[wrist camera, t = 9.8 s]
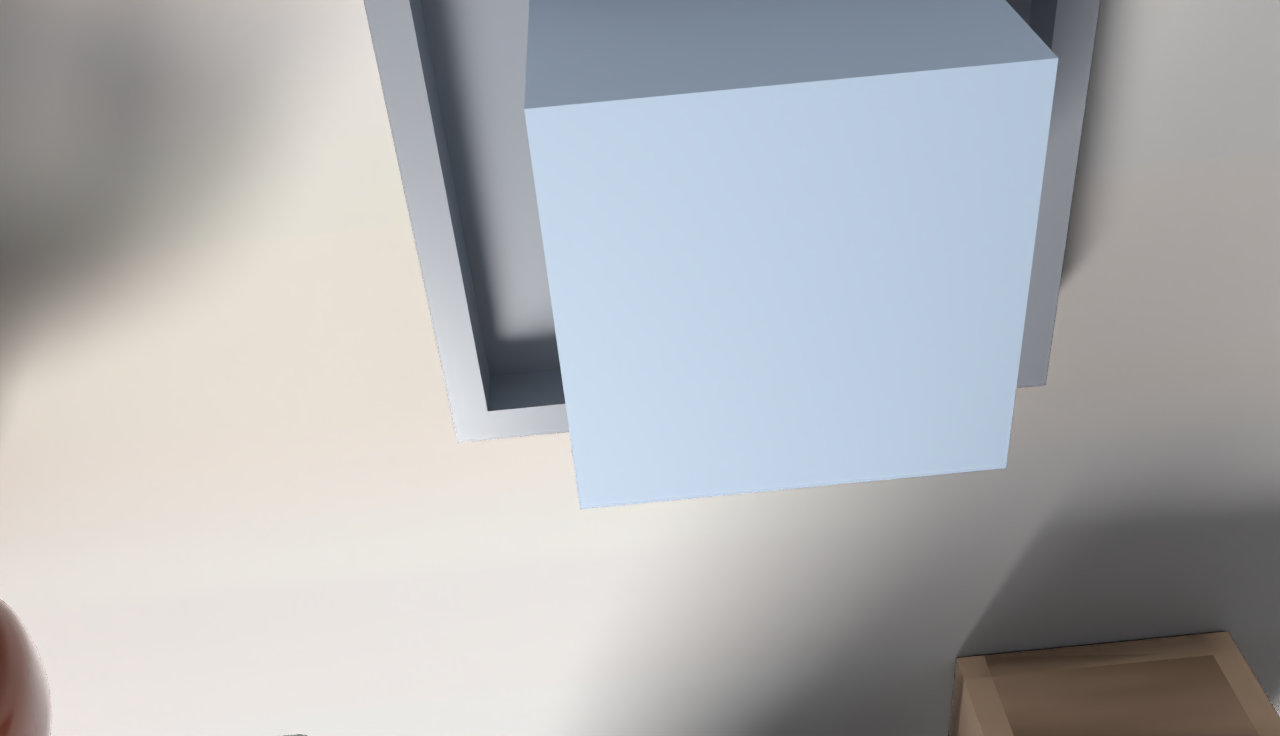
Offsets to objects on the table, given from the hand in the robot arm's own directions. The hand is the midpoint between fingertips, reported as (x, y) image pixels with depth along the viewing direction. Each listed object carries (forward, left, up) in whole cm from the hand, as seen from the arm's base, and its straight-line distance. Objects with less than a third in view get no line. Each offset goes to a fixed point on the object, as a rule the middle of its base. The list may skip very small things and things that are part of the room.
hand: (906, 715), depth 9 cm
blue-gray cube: (0, 0, -11) cm, 11 cm away
